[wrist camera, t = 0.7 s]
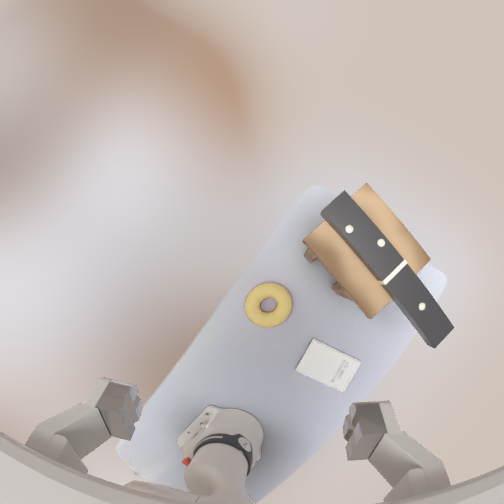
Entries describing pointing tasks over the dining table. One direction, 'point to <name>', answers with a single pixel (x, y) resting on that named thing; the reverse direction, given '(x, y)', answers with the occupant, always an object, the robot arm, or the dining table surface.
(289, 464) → the dining table surface
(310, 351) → the external hard drive
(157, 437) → the dining table surface
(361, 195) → the stool
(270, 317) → the donut
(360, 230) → the domino
